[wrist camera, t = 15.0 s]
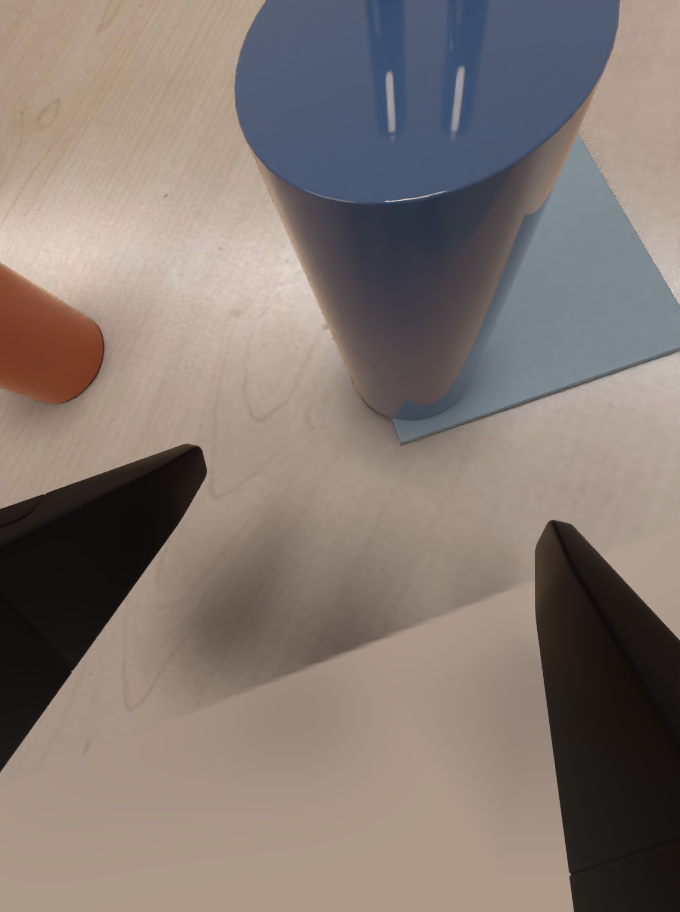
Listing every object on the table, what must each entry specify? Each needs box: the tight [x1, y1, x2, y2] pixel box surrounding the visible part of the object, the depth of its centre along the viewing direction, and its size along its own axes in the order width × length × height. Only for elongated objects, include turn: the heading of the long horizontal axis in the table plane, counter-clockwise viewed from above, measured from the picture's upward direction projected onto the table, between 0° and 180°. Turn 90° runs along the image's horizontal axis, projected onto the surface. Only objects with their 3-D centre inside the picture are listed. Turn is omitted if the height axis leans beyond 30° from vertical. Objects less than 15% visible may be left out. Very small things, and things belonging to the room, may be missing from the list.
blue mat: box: [392, 133, 680, 445], centre depth 19 cm, size 18×14×1 cm
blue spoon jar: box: [234, 0, 620, 421], centre depth 11 cm, size 6×6×16 cm
